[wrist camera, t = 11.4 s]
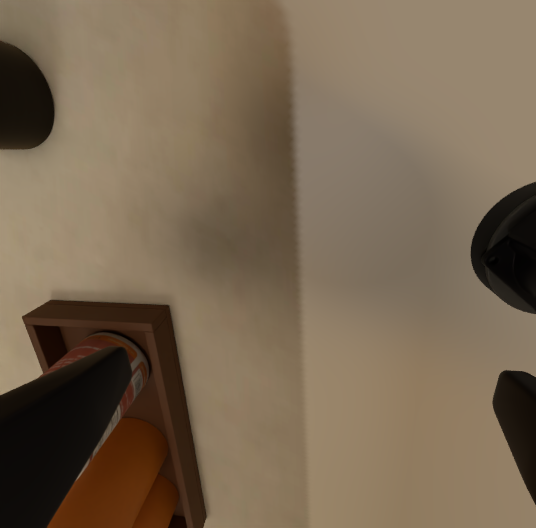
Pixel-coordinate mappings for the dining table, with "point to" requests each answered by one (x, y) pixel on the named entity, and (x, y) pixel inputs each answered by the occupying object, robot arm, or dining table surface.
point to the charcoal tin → (22, 101)
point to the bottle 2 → (158, 505)
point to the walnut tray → (154, 391)
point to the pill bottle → (136, 384)
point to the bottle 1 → (115, 479)
